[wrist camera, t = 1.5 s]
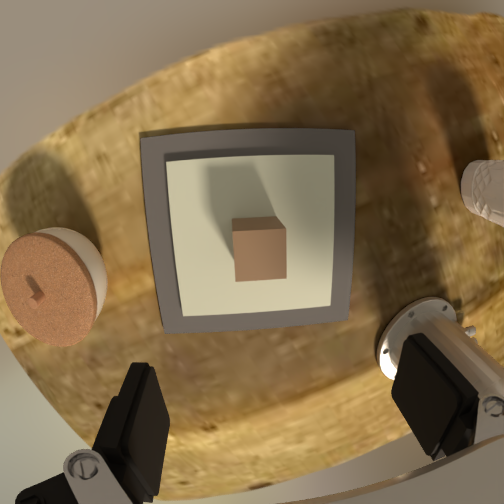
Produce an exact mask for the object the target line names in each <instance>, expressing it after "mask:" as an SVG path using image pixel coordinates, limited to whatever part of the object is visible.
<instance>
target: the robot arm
mask: <svg viewBox="0 0 504 504" xmlns="http://www.w3.org/2000/svg"><path fill="white" fill-rule="evenodd" d="M475 333H476V328H475V327H474V326H473V325H472V326H469V327H466V328H463V327H462V326H461V325H460V324H459V323H457V317H456V313H455V311H454V309H453V307H452V306H451V305H450V304H449V303H448V302H447V301H445V300H444V299H441V298H439V297H426V298H422V299H419V300H417V301H415V302H413V303H411V304H409V305H408V306H407V307H405V308H404V309H403V310H401V311H400V312H399V313H398V314H397V315H396V316H395V317H394V318H393V319H392V321H391V322H390V323H389V324H388V326H387V327H386V329H385V331H384V332H383V334H382V336H381V339H380V341H379V344H378V348H377V362H378V365H379V367H380V369H381V371H382V372H383V374H384V375H385V376H387V377H388V378H389V379H392V380H394V383H393V386H392V390H391V394H392V398H393V400H394V401H395V403H396V405H397V406H398V408H399V410H400V411H401V413H402V415H403V416H404V418H405V420H406V421H407V423H408V425H409V426H410V428H411V430H412V431H413V433H414V435H415V436H416V438H417V440H418V441H419V443H420V445H421V447H422V448H423V450H424V452H425V453H426V455H428V456H431V457H432V460H433V461H435V460H437V459H439V458H442V457H444V456H445V455H446V458H444V459H441V460H439V461H436V462H434V463H432V464H429V465H427V466H424V467H422V468H419V469H417V470H414V471H411V472H408V473H406V474H403V475H400V476H397V477H395V478H391V479H388V480H385V481H382V482H378V483H375V484H372V485H368V486H365V487H361V488H357V489H353V490H349V491H345V492H341V493H337V494H333V495H328V496H323V497H317V498H312V499H306V500H300V501H294V502H286V503H279V504H504V368H503V367H502V366H501V365H500V364H499V363H498V362H497V361H496V360H495V359H494V358H493V357H492V356H490V355H489V354H488V353H487V352H486V351H485V350H484V349H483V348H482V347H481V346H479V345H478V343H477V340H476V338H474V337H473V338H470V337H469V336H472V335H475ZM169 427H170V418H169V414H168V411H167V408H166V405H165V402H164V399H163V396H162V393H161V389H160V386H159V383H158V380H157V376H156V373H155V369H154V367H150V366H149V364H148V363H139V362H133V363H132V364H131V365H130V368H129V370H128V373H127V375H126V377H125V380H124V382H123V385H122V387H121V390H120V392H119V395H118V396H114V397H113V398H112V399H111V401H110V404H109V406H108V409H107V411H106V414H105V416H104V419H103V421H102V424H101V426H100V429H99V431H98V434H97V437H96V439H95V442H94V445H93V447H92V450H89V449H81V450H77V451H75V452H73V453H71V454H70V455H69V456H68V457H67V458H66V460H65V462H64V465H63V470H64V472H63V473H61V474H59V475H57V476H54V477H52V478H50V479H48V480H45V481H43V482H41V483H38V484H36V485H34V486H31V487H29V488H26V489H24V490H23V491H21V492H20V493H19V494H18V496H17V498H16V500H15V504H143V502H150V503H152V502H153V496H157V495H158V493H159V488H160V481H161V474H162V468H163V462H164V456H165V450H166V444H167V438H168V432H169Z"/></svg>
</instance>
